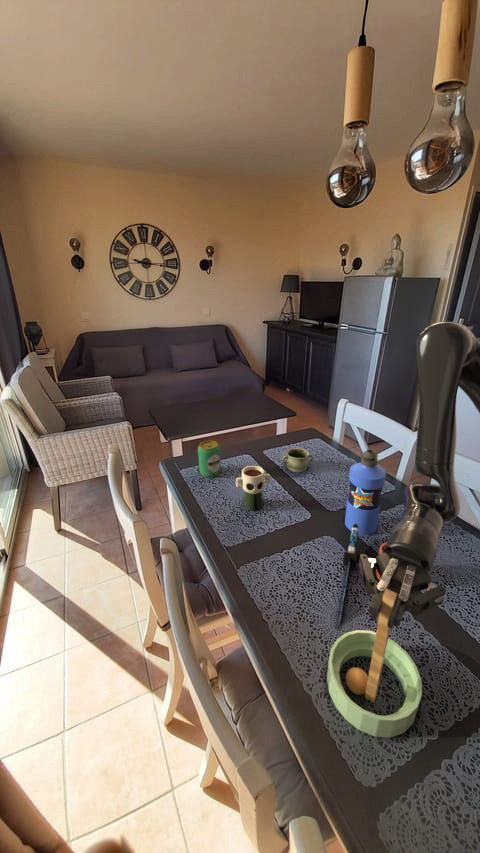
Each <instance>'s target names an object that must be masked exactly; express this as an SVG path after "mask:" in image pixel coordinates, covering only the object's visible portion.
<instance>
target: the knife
mask: <svg viewBox="0 0 480 853" xmlns="http://www.w3.org/2000/svg"><path fill="white" fill-rule="evenodd" d="M358 536H359V534H358V525H357V524H354V525H353V527H352V530H351V531H350V538H349V544H348V549H347V551H344V553H343V560H342V565H343V566H346V567H347V570H346V575H345V583H344V589H343V596H342V601H341V608H340V615H339V623H338V624H339V626H340V625H341V621H342V617H343V611H344V610H343V609H344V605H345V604H344V603H345V598H346V593H347V588H348V582H349V577H350V572H351V568H354V569H356V566H357V559H358V555H357V553H356V549H357V543H358V542H357V541H358Z"/></svg>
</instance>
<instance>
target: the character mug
mask: <svg viewBox="0 0 480 853" xmlns="http://www.w3.org/2000/svg"><path fill="white" fill-rule="evenodd" d="M265 478H266V480H265ZM270 481H271V475H270V474H269V473H265V469H263V467H261V466H260V465H259V466H258V465H248V466H245V467H243V468H242V470H241V476H240V477H236V479H235V486H236V487H237V488H242V490H243V491H244V497H243V505H244V507H245V508H246V509H247V510H249V511H255V508H256V510H260V509H261V508H263V507H264V499H263V492H262V491H263V490H264V489H265V484H270ZM240 482H241V483H240Z"/></svg>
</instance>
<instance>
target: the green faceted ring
mask: <svg viewBox="0 0 480 853" xmlns="http://www.w3.org/2000/svg"><path fill="white" fill-rule="evenodd" d="M376 632H377V631H376ZM376 632H375V631H373V630H367V629H365V630H362V629H356V630H352V631H349V632H345V633H343V635H341V636H340V637H338V638H337V639H335V642H334V643H333V645H332V646H331V648H330V651H329V657H328V664H327V673H326V681H327V688H328V692H329V695H330V697H331V699H332V702H333V704H334V706H335V708H336V709H337V710H338V712H339V713H340V714H341V715H342V717H343V718H344V719H345V720H346V721H347V722H348V723H350V724H351V725H352V726H353V727H354V728H356V729H357V730H358V731H361V732H363V733H365V734H368V735H370V736H373V737H376V738H394V737H397V736H399V735H402V734H405V733H406V732H407V731H408V730H409V729H410V727H412V725H413V724H414V722H415V719H416V716H417V714H418V710H419V707H420V703H421V700H422V697H423V686H422V685H423V684H422V682H423V681H422V677H421V675H420V672H419V669H418V667H417V665H416V663H415V662H414V660H413V659H412V658H411V656H410V654H409V653H408V652H407V651H406V650H405V649H404V648H403V647H401V645H399V644H398V642H396V641H394V640H392V639H391V638H390V637H389V638H388V643H387V648H386V653H385V658H384V662H383V665H385V666H386V667H388V668H389V669H390V670H391V671H392V673H393V674H394V675H395V677H396V678H397V679H398V681H399V682H400V685H401V688H402V690H403V695H404V696H403V697H404V698H403V699H404V701H403V705H402V707H400V708H399V709H398V710H397V711H396V712H394V713H391V714H389V715H380V714H376V713H373V712H371V711H369V710H365V709H363V708H362V707H361V706H360V705H358V704H357V703H355V702H354V701H353V700H352V699H351V697H350V696H348V694H347V693H346V690H345V689H344V686H343V685H342V681H341V675H340V671H341V669H342V668H343V666H344V664H345V663H347V662H348V661H349V660H350V659H354V658H356V657H368V658H371V659H372V654H373V648H374V643H375V637H376Z"/></svg>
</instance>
